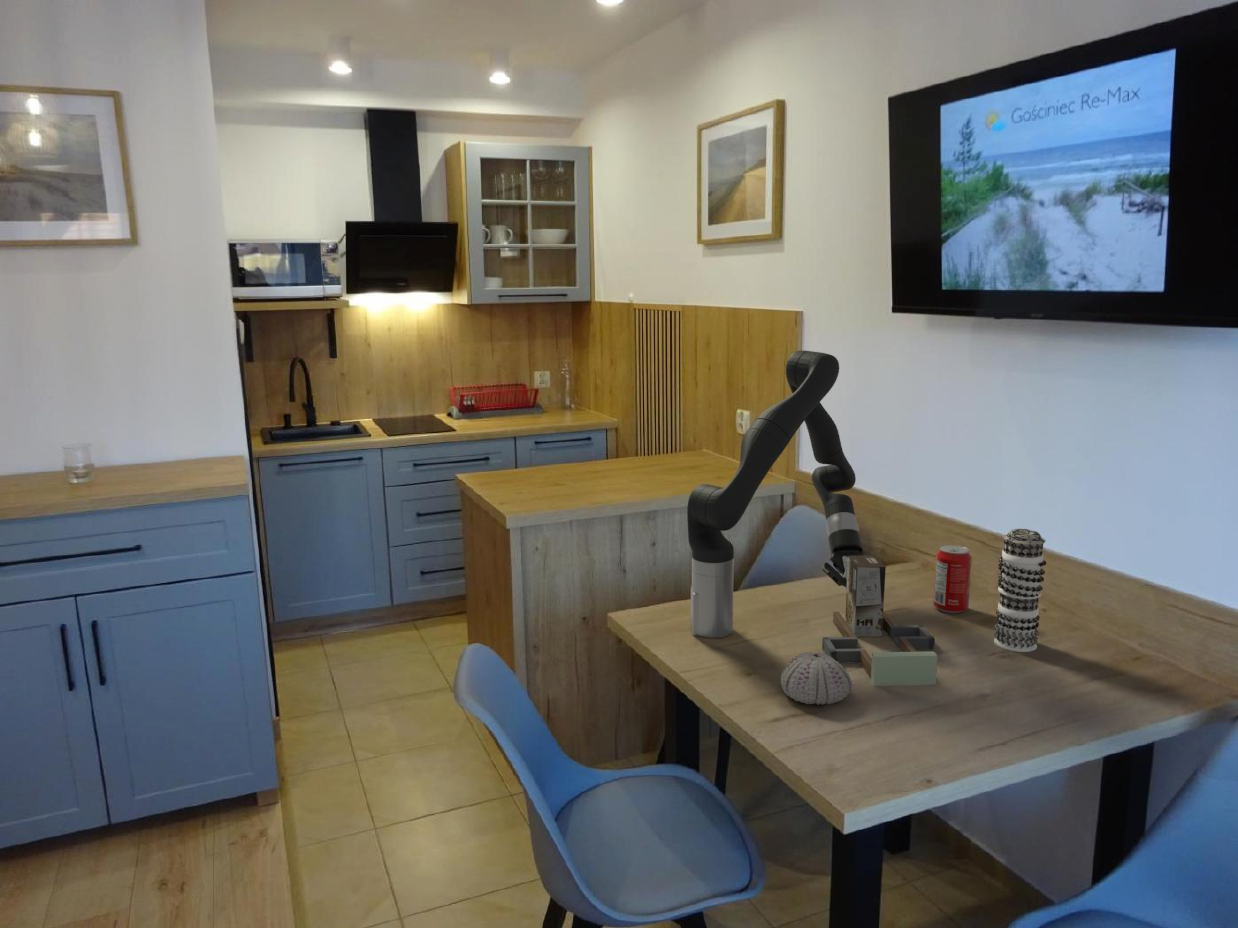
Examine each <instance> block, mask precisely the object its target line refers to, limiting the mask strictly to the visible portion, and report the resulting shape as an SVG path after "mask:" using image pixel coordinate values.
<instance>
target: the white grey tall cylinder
mask: <svg viewBox="0 0 1238 928" xmlns="http://www.w3.org/2000/svg"><path fill="white" fill-rule="evenodd" d="M1002 538H1003V540H1004V541H1003V549H1002V550H1001V554H1000V556H999V557H997V558H998V567H997V568H998V570H999V572H998V573H997V575H998V576H997V577H998V580H997V585H998V587H997V591H998V592H999V602H997V604H998V605H997V610H996V612H995V614H996V617H995V622H996V624H995V625H994V630H995V631H994V634H993V635H994V636H993V637H995V638H994V639H993V641H994V644H995V645H996V646H998V648H1001V649H1004V650H1006V651H1011V652H1015V653H1016V652H1017V653H1030V652H1034V651H1035V650H1037V648H1038V645H1037V643H1038V639H1039V638H1038V636H1039V630H1038V629H1037V628H1039V626H1040V623H1039V621H1040V619H1041V618H1040V615H1039V614H1040V613H1039V612H1040V608H1039V603H1040V602H1039V598H1040V597H1041V596H1042V595H1043V594H1042V591H1043V590H1044V587H1043V586H1042V585H1040V583H1043V582H1044V581H1045V578H1044V577H1043V575H1045V574H1046V571H1045V570H1044V569H1043V568H1042V567H1043V566H1046V565H1047V561H1046V560H1045V559H1044V556H1045V555H1044V553H1043V552H1044V543H1046V538H1043V537H1042V536H1041V534H1040V533H1039V532H1038V531H1035V530H1032V529H1027V528H1014V529H1011V530H1009V531H1008V533H1007V534H1005V535H1003V536H1002Z"/></svg>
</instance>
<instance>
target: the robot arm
mask: <svg viewBox="0 0 1238 928" xmlns="http://www.w3.org/2000/svg"><path fill="white" fill-rule="evenodd" d="M839 373H840V363H839V360H838V358H837V357H836V356H834V355H833V354H830V353H825V352H821V351H811V350H796V351H794V352H792V353H791V354H790V355H789V357H788V359H787V361H786V364H785V376H786V380H787V383H788V386H789V388H790V391H791V392H792V393H791V394H790V395H788V396H787V397H786V398H784V399H782V400H780V401H778V402H776V403H775V404H773V405H771V406H770V407H768V408H767V409H764V410H763V411H762V412H761V413H760V414H759V415H758V416H757V417H756V418H755V419H754V421H753V422H752V423H751V425H750V426H749V428H748V429H747V431H746V432H745V433H744V435H743V437H742V440H741V445H740V453H739V455H740V457H739V458H740V459H739V467H738V469H737V470H736V472H735V474H734V476H733V477H732V479H731V480H730V481H729V482H728V484H727V485H726V486H723V487H722V486H717V485H713V484H709V483H703V484H699V485H696V486H695V487H694V488H693V490H692V491H691V492H690V495H689V496H688V497H689V498H688V499H687V507H686V508H687V509H686V511H687V512H686V514H687V515H686V517H687V536H688V537H687V538H688V544H689V547H690V549H691V586H690V629H691V633H692V634H691V635H692V636H699V637H703V638H711V639H712V638H713V639H714V638H724V637H728V636H729V635H731V634H733V631H734V629H733V626H734V577H735V576H734V572H735V571H734V570H735V568H734V567H735V566H734V565H735V563H734V562H735V561H734V560H735V559H734V558H735V551H734V550H735V549H734V545H733V544H732V542H730V541H729V540H728V539H727V538H726V537H725V536H724V534H723V533H722V532H725V531H726V532H727V531H729V530H731V529H733V528H734V527H735V526H736V525H737V524H738V523H739V521H740V520H741V518H742V517H743V515H744V513H745V512H746V510H747V508H748V506H749V504H750V503H751V501H752V499H753V497H754V495H755V494H756V492H757V490H758V488H760V487H759V486H760V485H761V483H762V482H763V480H764V479H765V477H766V476H767V474H768V473H769V471H770V470H771V468H772V467H773V465H774V464H775V463H776V461H777V460H778V458H779V457H780V456H781V455H782V453H783V452H784V450H785V449H786V448H787V446H788V445H789V443H790V441H791V440H792V438H793V437H794V436H795V433H797V431H798V430H799V428H800V427H801V426H802V424H803V423H804V424H805V427H806V430H807V432H808V436H809V440H810V444H811V449H812V452H813V453H812V454H813V457H814V460H815V461H816V462H817V463H818V464H820V465H822V466H819V467H816V468H815V469H814V470H813V472H812V475H811V481H812V484H813V487H814V489H815V491H816V492H817V494H818V496H819V498H820V501H821V503H822V505H823V509H824V515H825V520H826V536H827V539H828V545H829V551H830V558H829V561H828V562H825V563H824V564H823V567H822V571H823V572H824V573H825V574H826V575H827V576H828V577H829V578H830V579H831V580H832V581H833V582H834V583H835V584H836V585H838V587H842V586H843V587H845V589H847V561H848V556H859V555H865V554H864V549H863V544H862V538H861V533H860V529H859V524H858V520H857V519H856V514H855V513H856V512H855V509H854V504H853V499H852V498H851V497H850V496H849V495H847V494H843V493H837V492H843V491H849V490H851V489H852V488H853V487H854V486H855V484H856V481H857V479H856V478H857V477H856V473H855V471H854V469H853V467H852V465H851V464H850V462H849V461H848V459H847V457H846V456H845V453H844V450H843V447H842V446H843V445H842V443H841V439H840V432H839V429H838V427H837V425H836V423H835V421H834V420H833V418H832V417H831V416H830V414H829V413H828V411H827V410H826V409H825V407H824V406H823V404H822V403H821V401H822V400H823V399H824V398H825V397H826V395H827V394H828V393H830V391H831V389H832V388H833V387H834V386H835V384H836V382H837V380H838V376H839Z"/></svg>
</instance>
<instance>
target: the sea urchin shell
mask: <svg viewBox="0 0 1238 928" xmlns="http://www.w3.org/2000/svg"><path fill="white" fill-rule="evenodd" d="M780 685H781V689H782V690H783V693H785V694H786V696H787V697H790V699H793V700H794V701H795V702H800V703H803V704H806V705H814V704H816V705H817V706H819V705H823V706H824V705H826V704H827V705H830V704H835V703H838V702H839V701H844V698H846V697H848V695H850V694H851V691H852V690H853V689H852V688H853V686H854V684H853V680H852V678H851V676H850V673H848V672H847V669H846V668H844V666H843V665H842V664H841V663H839V662H837V661H835V660H834V658H831V656H828V655H827V654H825V652H812V651H811V652H810V651H809V652H802V653H800V654H799V655H798V654H797V655H795V657H794V658H793V657H792V658H791V660H790V661H788V664H787V665H786V666H785V668H784V669H783V670H782V673H780Z"/></svg>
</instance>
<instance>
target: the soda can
mask: <svg viewBox="0 0 1238 928" xmlns="http://www.w3.org/2000/svg"><path fill="white" fill-rule="evenodd" d="M935 556H936V557H935V569H934V584H933V601H932V602H933V606H934V607H935V608H936V609H938V610H939V611H940V612H943V613H947V614H952V615H953V614H955V615H956V614H961V613H963V612H966V611H967V610H968V609H969V604H970V603H969V602H970V590H971V578H972V577H971V576H972V562H973V561H972V560H973V559H972V555H971V554H970V549H969V548H967V547H965V546H961V545H955V544H952V545H951V544H949V545H948V544H947V545H946V544H945V545H942V546H940V547H939V550H938V552H936V555H935Z"/></svg>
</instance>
